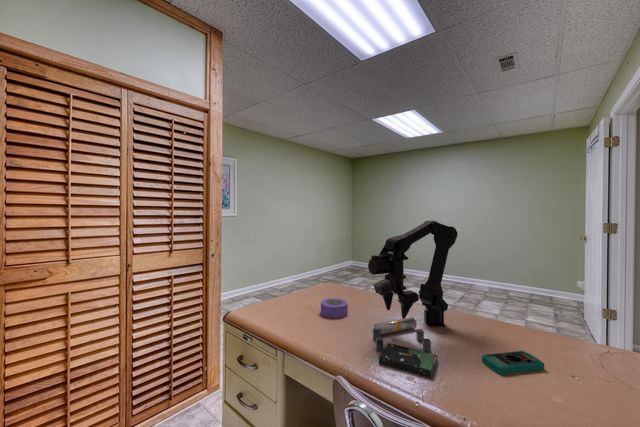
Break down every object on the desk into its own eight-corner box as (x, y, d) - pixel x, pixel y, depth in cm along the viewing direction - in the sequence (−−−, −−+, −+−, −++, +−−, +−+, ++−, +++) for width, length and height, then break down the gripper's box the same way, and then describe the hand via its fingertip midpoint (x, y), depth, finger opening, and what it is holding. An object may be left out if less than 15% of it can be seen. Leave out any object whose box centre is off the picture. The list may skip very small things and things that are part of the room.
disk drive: (378, 366, 82) (432, 380, 74) (378, 356, 82) (432, 370, 74) (388, 351, 91) (437, 362, 83) (388, 342, 91) (437, 353, 83)
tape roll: (352, 312, 125) (352, 300, 125) (339, 320, 115) (339, 308, 115) (329, 307, 131) (329, 296, 131) (315, 315, 121) (315, 303, 121)
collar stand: (422, 338, 98) (422, 328, 98) (431, 352, 88) (431, 341, 88) (372, 337, 99) (372, 327, 99) (376, 351, 89) (376, 340, 89)
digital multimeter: (546, 371, 78) (546, 361, 78) (500, 377, 76) (500, 366, 76) (523, 358, 86) (523, 348, 86) (480, 363, 83) (480, 353, 83)
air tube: (409, 325, 109) (409, 315, 109) (416, 330, 105) (416, 319, 105) (373, 332, 103) (374, 321, 103) (380, 337, 99) (380, 326, 99)
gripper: (363, 269, 110) (364, 308, 110) (392, 279, 92) (392, 327, 93) (387, 266, 114) (387, 305, 114) (419, 276, 96) (419, 322, 97)
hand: (395, 314), depth 104 cm, fingers open, 9 cm apart
